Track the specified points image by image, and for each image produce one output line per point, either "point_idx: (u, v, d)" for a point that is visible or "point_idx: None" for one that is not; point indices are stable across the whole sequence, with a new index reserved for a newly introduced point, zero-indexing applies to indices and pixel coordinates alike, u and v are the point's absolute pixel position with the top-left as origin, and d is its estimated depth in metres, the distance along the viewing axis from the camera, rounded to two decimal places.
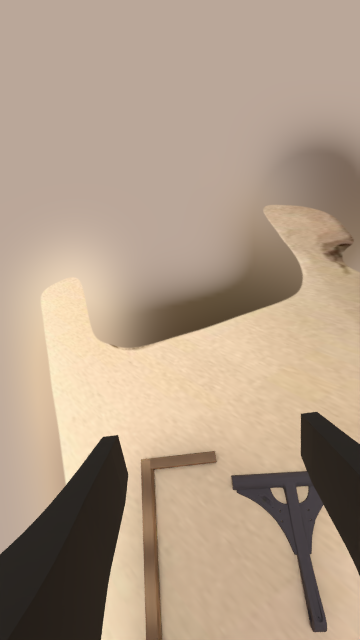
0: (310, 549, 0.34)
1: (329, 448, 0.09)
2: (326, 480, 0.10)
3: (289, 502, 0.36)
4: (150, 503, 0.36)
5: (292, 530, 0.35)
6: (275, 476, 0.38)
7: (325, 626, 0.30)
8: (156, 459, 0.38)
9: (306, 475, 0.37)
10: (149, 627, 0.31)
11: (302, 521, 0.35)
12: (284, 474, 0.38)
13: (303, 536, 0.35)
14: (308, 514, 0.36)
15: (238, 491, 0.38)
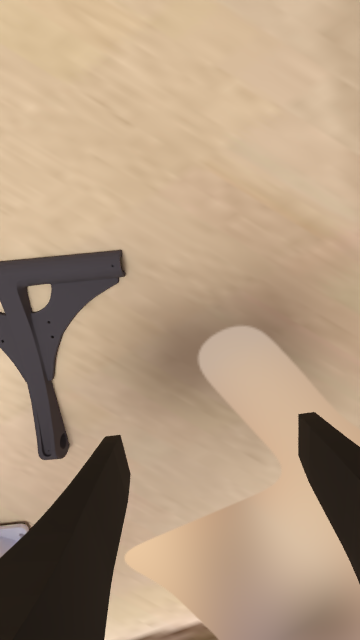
0: (50, 375, 0.21)
1: (326, 448, 0.09)
2: (323, 480, 0.10)
3: (7, 315, 0.19)
4: None
5: (19, 353, 0.20)
6: None
7: (56, 458, 0.21)
8: None
9: (38, 267, 0.18)
10: None
11: (36, 341, 0.20)
12: None
13: (36, 360, 0.20)
14: (48, 329, 0.20)
15: None
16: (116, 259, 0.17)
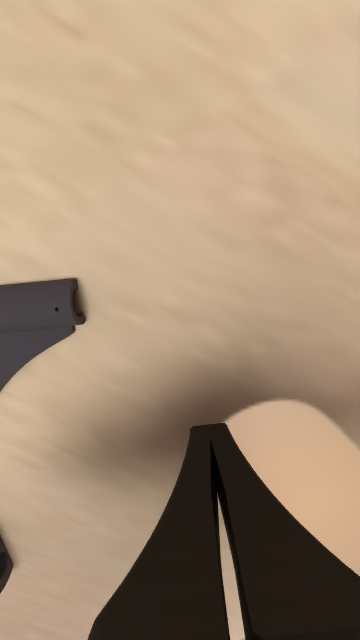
0: None
1: (216, 460, 0.09)
2: (219, 492, 0.10)
3: None
4: None
5: None
6: None
7: None
8: None
9: None
10: None
11: None
12: None
13: None
14: None
15: None
16: (63, 298, 0.09)
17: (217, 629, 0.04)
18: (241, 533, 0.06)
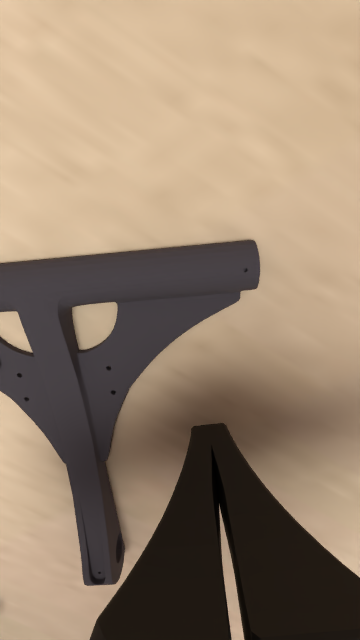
0: (105, 452, 0.12)
1: (215, 461, 0.09)
2: (219, 492, 0.10)
3: (38, 358, 0.10)
4: None
5: (54, 420, 0.12)
6: None
7: None
8: None
9: (100, 272, 0.09)
10: None
11: (85, 400, 0.11)
12: (18, 269, 0.09)
13: (84, 432, 0.12)
14: (107, 379, 0.11)
15: None
16: (252, 258, 0.09)
17: (219, 629, 0.04)
18: (240, 533, 0.06)
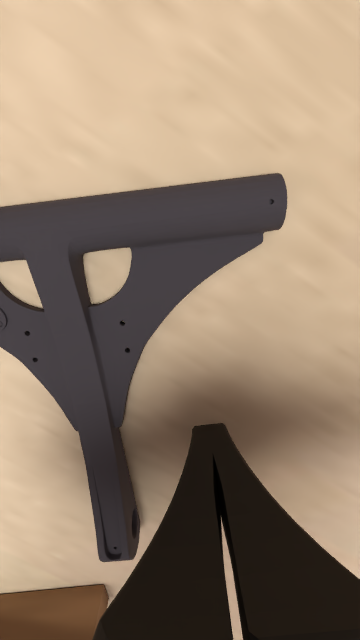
0: (119, 418, 0.12)
1: (214, 461, 0.09)
2: (218, 492, 0.10)
3: (47, 310, 0.10)
4: None
5: (65, 382, 0.11)
6: None
7: None
8: None
9: (114, 209, 0.08)
10: None
11: (97, 358, 0.10)
12: (25, 209, 0.09)
13: (97, 394, 0.11)
14: (121, 336, 0.10)
15: None
16: (278, 188, 0.08)
17: (222, 629, 0.04)
18: (238, 533, 0.06)
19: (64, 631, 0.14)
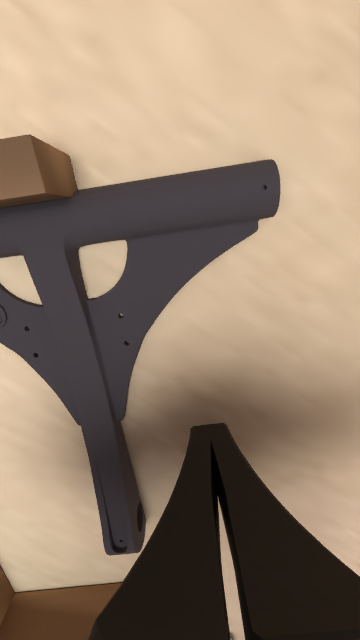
0: (121, 411, 0.12)
1: (216, 461, 0.09)
2: (219, 492, 0.10)
3: (46, 304, 0.10)
4: None
5: (66, 376, 0.11)
6: None
7: None
8: None
9: (107, 200, 0.08)
10: None
11: (97, 352, 0.11)
12: None
13: (98, 388, 0.11)
14: (120, 328, 0.10)
15: None
16: (271, 174, 0.08)
17: (218, 629, 0.04)
18: (241, 533, 0.06)
19: None
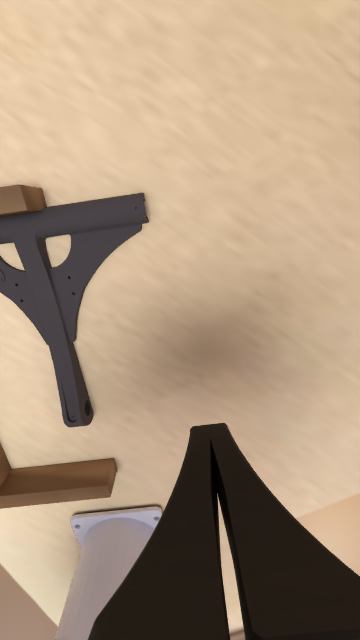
0: (72, 336, 0.20)
1: (216, 460, 0.09)
2: (219, 491, 0.10)
3: (26, 269, 0.18)
4: None
5: (39, 313, 0.19)
6: None
7: (81, 424, 0.20)
8: None
9: (57, 213, 0.16)
10: None
11: (56, 298, 0.19)
12: (12, 215, 0.17)
13: (57, 320, 0.19)
14: (69, 285, 0.19)
15: None
16: (139, 201, 0.16)
17: (217, 629, 0.04)
18: (241, 533, 0.06)
19: (89, 479, 0.22)
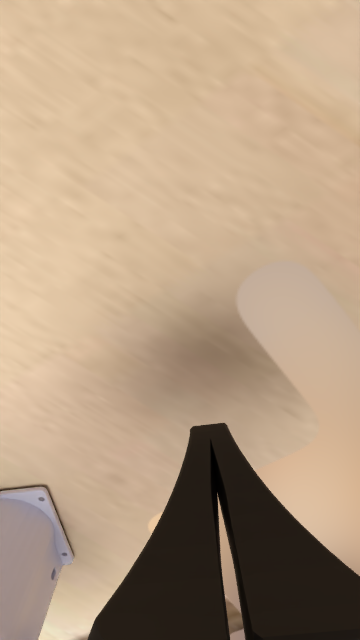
0: None
1: (216, 461, 0.09)
2: (220, 492, 0.10)
3: None
4: None
5: None
6: None
7: None
8: None
9: None
10: None
11: None
12: None
13: None
14: None
15: None
16: None
17: (217, 629, 0.04)
18: (241, 533, 0.06)
19: None
